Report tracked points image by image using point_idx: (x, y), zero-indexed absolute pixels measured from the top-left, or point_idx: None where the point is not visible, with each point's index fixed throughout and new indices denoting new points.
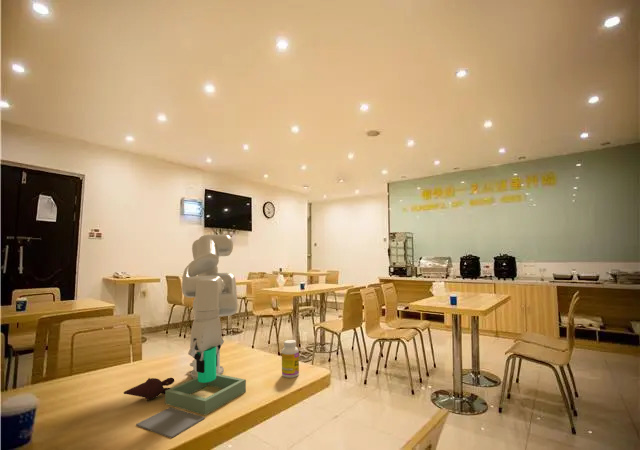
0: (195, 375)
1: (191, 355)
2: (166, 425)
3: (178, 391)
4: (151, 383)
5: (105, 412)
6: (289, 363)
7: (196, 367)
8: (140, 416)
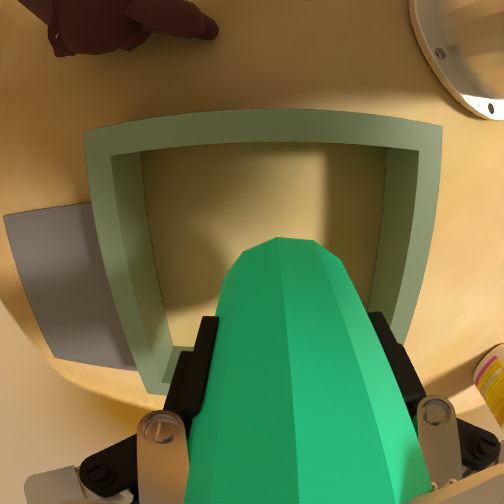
0: (420, 12)
1: (62, 481)
2: (53, 309)
3: (116, 215)
4: (59, 23)
5: (6, 32)
6: (490, 407)
7: (177, 362)
8: (25, 160)
